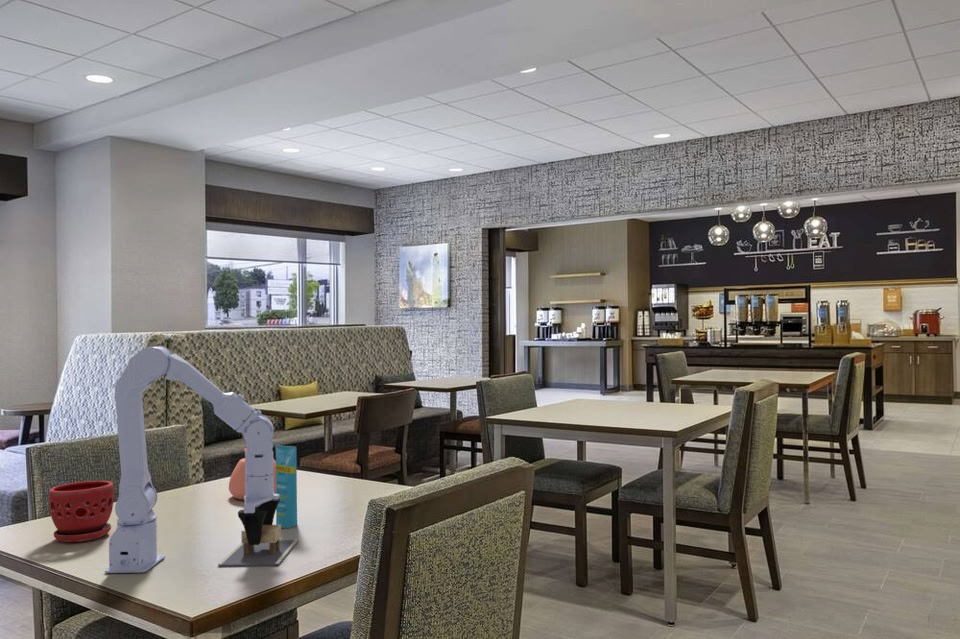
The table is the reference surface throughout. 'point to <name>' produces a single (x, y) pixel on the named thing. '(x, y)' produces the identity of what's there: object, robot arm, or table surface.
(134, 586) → the table surface
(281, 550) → the mat
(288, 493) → the tube
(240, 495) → the teapot
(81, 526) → the plant pot
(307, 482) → the table surface
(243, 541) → the stool
